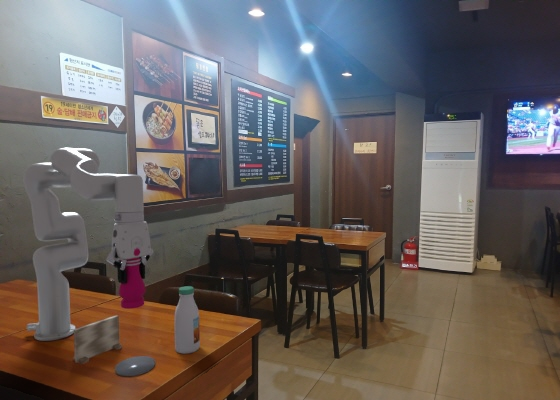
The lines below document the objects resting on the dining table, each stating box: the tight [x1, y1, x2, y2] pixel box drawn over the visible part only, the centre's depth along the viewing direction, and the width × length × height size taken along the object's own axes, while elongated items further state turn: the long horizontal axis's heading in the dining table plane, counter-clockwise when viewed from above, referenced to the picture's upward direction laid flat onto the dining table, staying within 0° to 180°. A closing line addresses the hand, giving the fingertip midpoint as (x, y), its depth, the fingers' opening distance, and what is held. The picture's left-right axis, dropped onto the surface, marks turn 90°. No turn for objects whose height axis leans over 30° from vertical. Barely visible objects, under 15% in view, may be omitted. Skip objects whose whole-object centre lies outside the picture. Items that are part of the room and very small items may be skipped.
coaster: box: [114, 355, 156, 377], centre depth 113 cm, size 11×11×1 cm
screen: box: [72, 314, 123, 365], centre depth 121 cm, size 14×5×10 cm, turn 146°
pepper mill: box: [118, 248, 146, 310], centre depth 111 cm, size 7×7×20 cm
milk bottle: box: [174, 285, 201, 355], centre depth 124 cm, size 8×8×20 cm
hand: (131, 279), depth 111 cm, fingers closed on pepper mill, 5 cm apart
